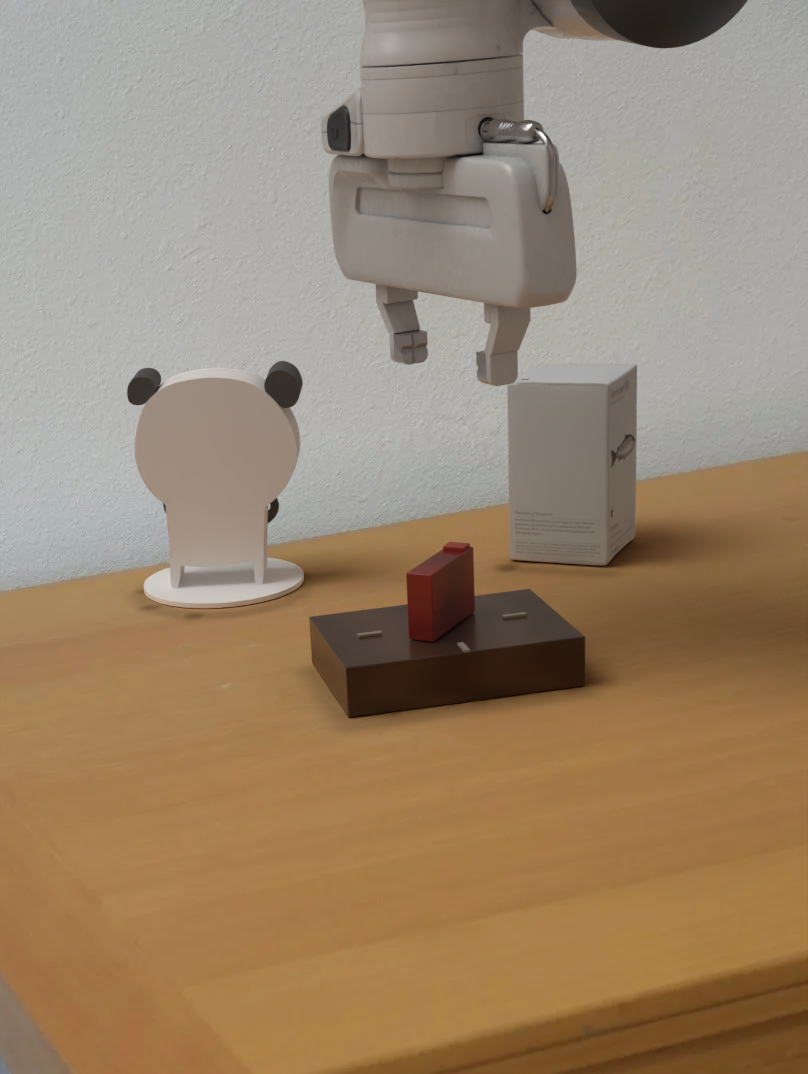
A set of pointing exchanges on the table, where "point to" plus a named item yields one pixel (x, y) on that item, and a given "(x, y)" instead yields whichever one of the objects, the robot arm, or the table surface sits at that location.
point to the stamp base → (446, 655)
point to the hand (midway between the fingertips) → (451, 372)
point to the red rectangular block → (440, 592)
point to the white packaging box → (572, 462)
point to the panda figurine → (218, 479)
